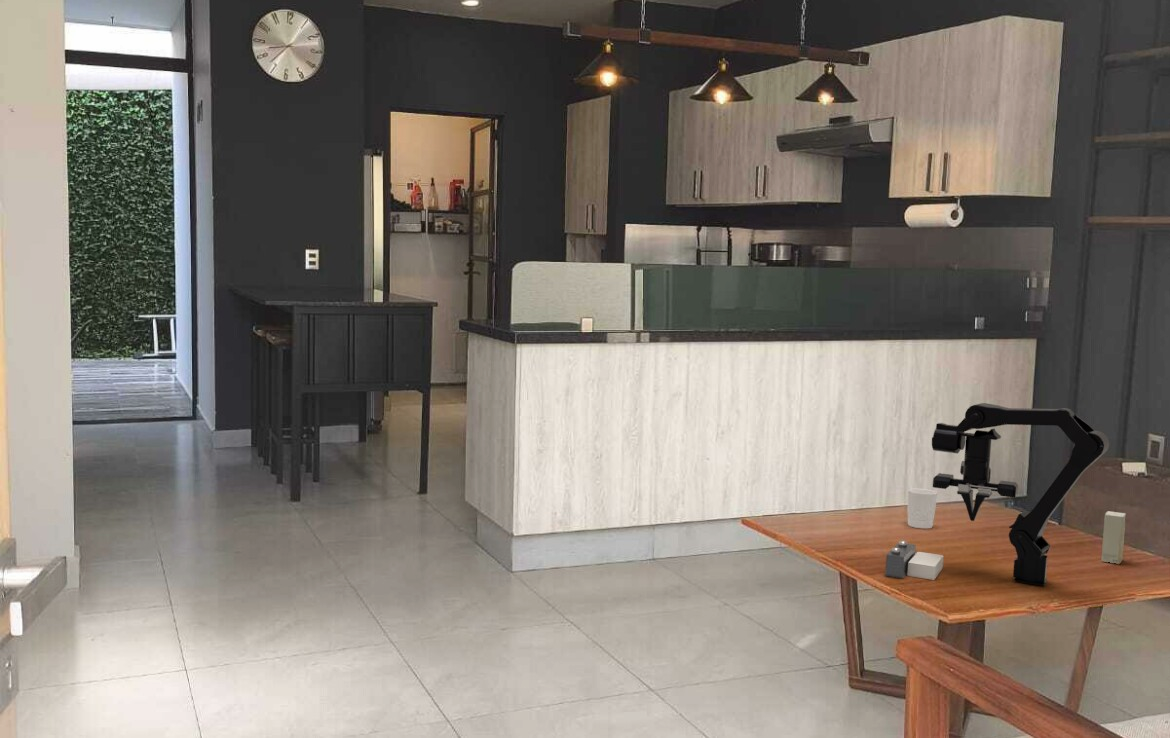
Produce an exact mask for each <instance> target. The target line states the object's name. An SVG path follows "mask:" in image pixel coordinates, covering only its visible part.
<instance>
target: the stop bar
mask: <svg viewBox="0 0 1170 738" xmlns="http://www.w3.org/2000/svg"><path fill="white" fill-rule="evenodd" d="M916 548H917V545H916V544H912V543H908V541H906V540H898V543H897V544H895V546H893V547H891V549H890V551H888V552H887V553H886V558H885V571H884V572H885V573H884V576H886V577H890V578H897V579H904V577H906V575H907V574H908V562H909V561H910V560H911V559H912V558H913V557H914V555H915V554H916V550H917V549H916Z"/></svg>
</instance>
